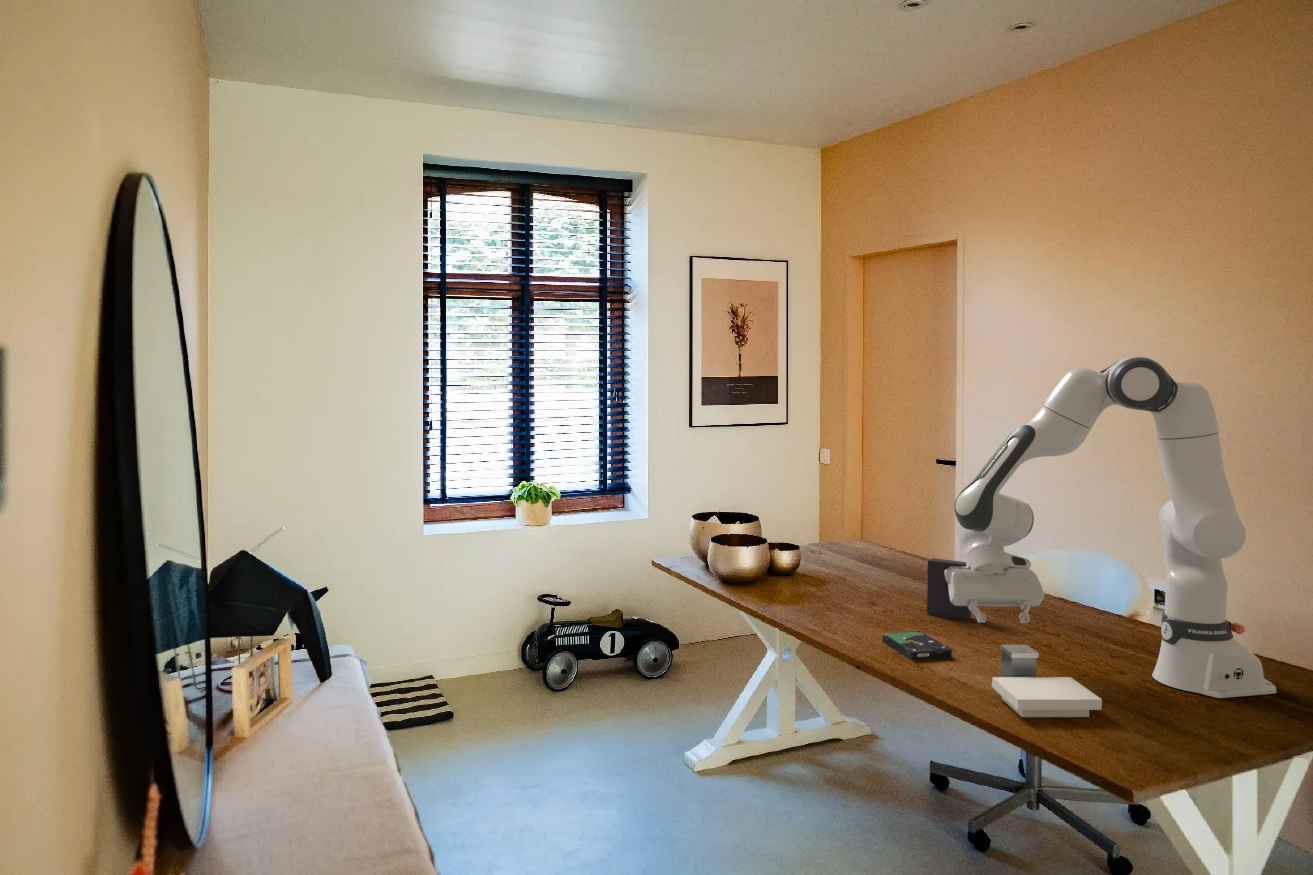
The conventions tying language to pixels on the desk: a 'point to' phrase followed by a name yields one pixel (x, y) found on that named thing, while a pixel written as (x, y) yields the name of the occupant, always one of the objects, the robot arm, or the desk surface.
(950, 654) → the disk drive
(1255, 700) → the desk surface
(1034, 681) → the stand
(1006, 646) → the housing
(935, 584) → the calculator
